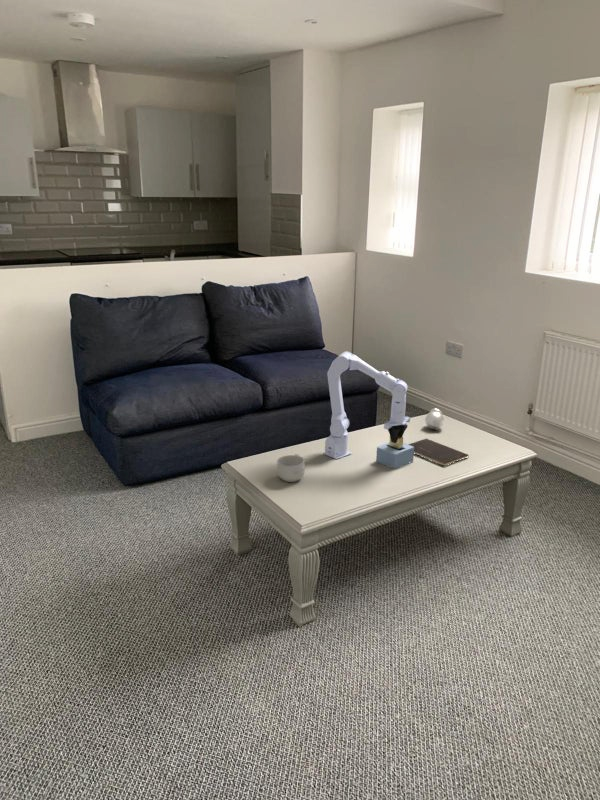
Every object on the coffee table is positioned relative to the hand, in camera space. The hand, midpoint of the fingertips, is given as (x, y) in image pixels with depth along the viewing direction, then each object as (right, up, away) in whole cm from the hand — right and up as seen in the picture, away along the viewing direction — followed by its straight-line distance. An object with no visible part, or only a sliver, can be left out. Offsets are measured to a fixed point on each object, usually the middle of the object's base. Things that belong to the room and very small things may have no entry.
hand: (396, 441), depth 264 cm
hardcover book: (+19, -7, +12) cm, 23 cm away
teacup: (-43, -13, -14) cm, 47 cm away
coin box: (0, -8, +3) cm, 9 cm away
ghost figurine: (+24, +3, +41) cm, 48 cm away
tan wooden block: (0, -2, +1) cm, 2 cm away
